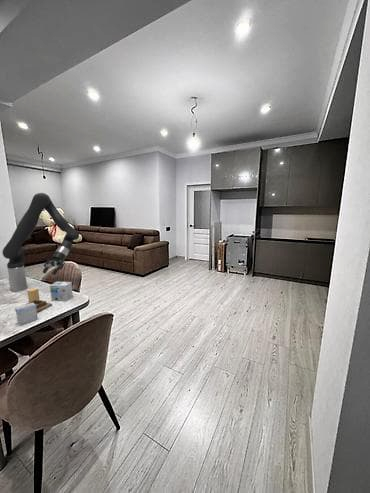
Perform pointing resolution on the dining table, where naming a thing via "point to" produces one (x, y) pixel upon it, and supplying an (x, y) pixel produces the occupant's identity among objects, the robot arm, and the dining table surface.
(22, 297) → the dining table surface
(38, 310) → the walnut dock
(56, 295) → the light bulb box
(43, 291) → the dining table surface
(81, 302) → the dining table surface
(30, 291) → the ochre post
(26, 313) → the medicine box
